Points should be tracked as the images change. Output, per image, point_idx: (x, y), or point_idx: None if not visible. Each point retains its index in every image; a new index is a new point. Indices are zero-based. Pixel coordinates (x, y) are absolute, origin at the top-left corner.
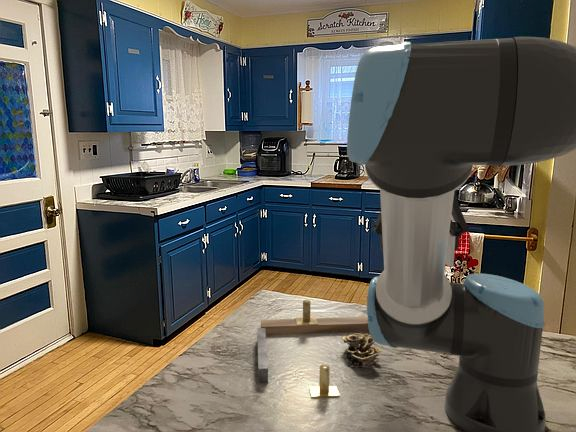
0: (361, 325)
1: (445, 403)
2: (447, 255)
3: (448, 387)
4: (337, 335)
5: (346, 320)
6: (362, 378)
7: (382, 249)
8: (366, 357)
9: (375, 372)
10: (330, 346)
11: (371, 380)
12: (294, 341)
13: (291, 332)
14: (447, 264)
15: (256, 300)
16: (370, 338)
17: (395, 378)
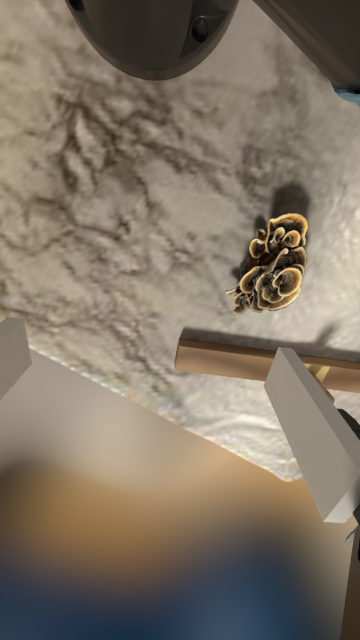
0: (222, 349)
1: (234, 10)
2: (2, 369)
3: (214, 32)
4: (264, 339)
5: (241, 366)
6: (308, 189)
7: (350, 419)
8: (297, 216)
9: (275, 203)
10: (295, 308)
11: (298, 177)
12: (338, 335)
13: (330, 360)
14: (25, 341)
15: None
16: (245, 289)
17: (254, 172)
